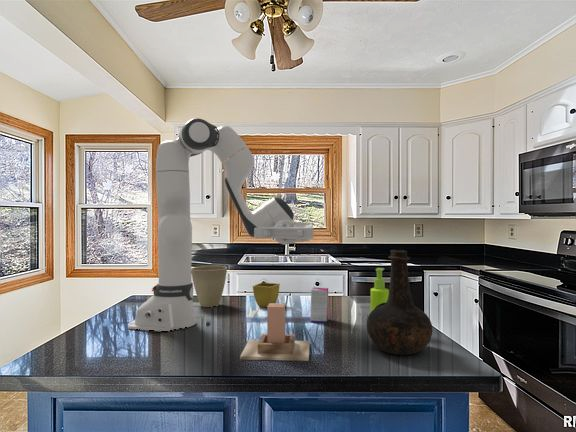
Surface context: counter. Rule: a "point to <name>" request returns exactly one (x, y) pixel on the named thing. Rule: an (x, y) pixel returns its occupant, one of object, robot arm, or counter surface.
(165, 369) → the counter surface
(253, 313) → the butter knife
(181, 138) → the robot arm
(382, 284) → the soap dispenser
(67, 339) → the counter surface
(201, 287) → the plant pot
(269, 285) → the flower pot
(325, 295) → the supplement box
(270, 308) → the block
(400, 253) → the glass bottle
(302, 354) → the housing
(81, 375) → the counter surface
